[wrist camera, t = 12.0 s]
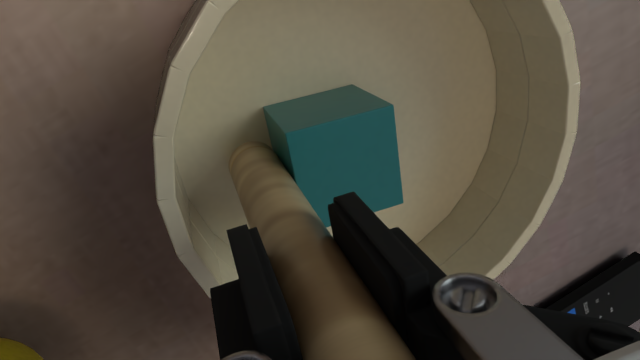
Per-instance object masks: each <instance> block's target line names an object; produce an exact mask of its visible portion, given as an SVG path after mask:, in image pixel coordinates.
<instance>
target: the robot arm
mask: <svg viewBox="0 0 640 360" xmlns="http://www.w3.org/2000/svg"><path fill="white" fill-rule="evenodd" d="M328 212H329V218H330V223H331V228H332V234H333V238H334V240H335V241H336V243H337V244H338V246H339V247H340V249H341V250H342V252H343V253H344V254H345V256H346V257H347V259H348V260H349V262H350V263H351V265H352V266H353V268H354V269H355V271H356V272H357V273H358V275H359V276H360V278H361V279H362V281H363V282H364V284H365V285H366V287H367V288H368V290H369V291H370V293H371V294H372V295H373V297H374V298H375V300H376V301H377V303H378V304H379V306H380V307H381V309H382V310H383V312H384V313H385V314H386V316H387V317H388V319H389V320H390V322H391V323H392V325H393V326H394V328H395V329H396V331H397V332H398V334H399V335H400V336H401V338H402V339H403V341H404V342H405V344H406V345H407V347H408V348H409V350H410V351H411V353H412V354H413V356H414V357H415V358H416V360H640V330H639V332H637V331H636V330H634V329H632V328H630V327H628V326H626V325H624V324H621V323H617V322H614V321H610V320H605V319H599V318H594V317H588V316H582V315H577V314H571V313H566V312H560V311H554V310H549V309H543V308H538V307H532V306H526V305H522V304H521V303H520V302H519V301H517V300H516V299H515V298H514V297H513V296H512V295H511V294H510V293H508V292H507V291H506V290H505V289H504V288H503V287H502V286H501V285H499V284H498V283H497V282H495V281H494V280H492V279H491V278H489V277H486V276H484V275H481V274H476V273H470V272H466V273H455V274H451V275H448V276H447V275H446V274H445V273H444V272H443V271H442V270H441V269H440V268H439V267H438V266H437V265H436V264H435V263H434V262H433V261H432V260H431V259H430V258H429V257H428V256H427V255H426V254H425V253H424V252H423V251H422V250H421V249H420V248H419V247H418V246H417V245H416V244H415V243H414V242H413V241H412V240H411V239H410V238H409V237H408V236H407V235H406V234H405V233H404V232H403V231H402V230H401V229H400V228H399V227H395V228H392V229H389V228H388V227H387V226H386V225H385V224H384V223H383V222H382V221H381V220H380V219H379V218H378V217H377V215H376V214H375V213H374V212H373V211H372V210H371V209H370V208H369V207H368V206H367V205H366V204H365V203H364V202H363V201H362V199H361V198H360V197H359V196H358V195H357V194H356V193H355V192H354V191H353V192H350V193H346V194H343V195H340V196H337V197H334V198H333V203H332V204H328ZM226 231H227V235H228V239H229V243H230V247H231V250H232V254H233V258H234V262H235V266H236V270H237V274H238V278H239V279H237V280H234V281H231V282H228V283H225V284H222V285H219V286H216V287H213V288H210V295H211V301H212V308H213V314H214V321H215V328H216V334H217V341H218V348H219V354H220V360H303V358H302V354H301V350H300V346H299V343H298V339H297V335H296V331H295V327H294V324H293V321H292V318H291V315H290V312H289V309H288V307H287V304H286V302H285V299H284V296H283V294H282V291H281V289H280V286H279V283H278V281H277V278H276V276H275V273H274V271H273V268H272V265H271V263H270V260H269V258H268V255H267V253H266V250H265V247H264V245H263V242H262V240H261V237H260V235H259V232H258V229H257V227H254V228H251V229H248V226H247V224H245V225H242V226H238V227H235V228H232V229H228V230H226Z"/></svg>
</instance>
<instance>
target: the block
mask: <svg viewBox="0 0 640 360" xmlns="http://www.w3.org/2000/svg"><path fill="white" fill-rule="evenodd" d="M263 111H264V115H265V119H266V124H267V128H268V132H269V137H270V141H271V145H272V149H273V150H274V152H275V153H276V155H277V156H278V158H279V159H280V161H281V162H282V164H283V165H284V167H285V168H286V169H287V171H288V172H289V174H290V175H291V177H292V178H293V180H294V181H295V183H296V184H297V186H298V187H299V189H300V190H301V191H302V193H303V194H304V196H305V197H306V199H307V200H308V202H309V203H310V205H311V206H312V208H313V209H314V211H315V212H316V213H317V215H318V216H319V218H320V219H321V221H322V222H323V224H324V225H325V227H326V228H327V227H330V226H331V223H330V218H329V212H328V204H332V203H333V198H334V197H337V196H340V195H343V194H346V193H350V192H353V191H354V192H355V193H356V194H357V195H358V196H359V197H360V198H361V199H362V201H363V202H364V203H365V204H366V205H367V206H368V207H369V208H370V209H371V210H372V211H373V212H377V211H380V210H384V209H387V208H390V207H393V206H396V205H399V204H402V203H404V201H403V191H402V182H401V172H400V162H399V153H398V143H397V133H396V124H395V114H394V105H393V104H391V103H389V102H387V101H385V100H383V99H381V98H379V97H377V96H375V95H373V94H371V93H369V92H367V91H365V90H363V89H361V88H359V87H357V86H355V85H353V84H351V85H347V86H343V87H339V88H335V89H331V90H328V91H324V92H320V93H316V94H312V95H308V96H304V97H300V98H296V99H292V100H288V101H284V102H280V103H276V104H272V105H268V106H264V107H263Z"/></svg>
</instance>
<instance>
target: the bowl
mask: <svg viewBox="0 0 640 360" xmlns="http://www.w3.org/2000/svg"><path fill="white" fill-rule="evenodd" d="M351 84H353V85H355V86H357V87H359V88H361V89H363V90H365V91H367V92H369V93H371V94H373V95H375V96H377V97H379V98H381V99H383V100H385V101H387V102H389V103H391V104H393V105H394V114H395V124H396V133H397V143H398V153H399V162H400V172H401V182H402V191H403V201H404V203H402V204H399V205H396V206H393V207H390V208H387V209H384V210H380V211H377V212H374V213H375V214H376V215H377V217H378V218H379V219H380V220H381V221H382V222H383V223H384V224H385V225H386V226H387V227H388V228H389V229H392V228H395V227H399V228H400V229H401V230H402V231H403V232H404V233H405V234H406V235H407V236H408V237H409V238H410V239H411V240H412V241H413V242H414V243H415V244H416V245H417V246H418V247H419V248H420V249H421V250H422V251H423V252H424V253H425V254H426V255H427V256H428V257H429V258H430V259H431V260H432V261H433V262H434V263H435V264H436V265H437V266H438V267H439V268H440V269H441V270H442V271H443V272H444V273H445V274H446V275H447V276H448V275H451V274H455V273H466V272H470V273H476V274H481V275H484V276H486V277H489V278H491V279H492V280H494V279H495V278H496V277H497V276H498V275H499V274H500V273H501V272H503V271H504V270H505V269H506V268H507V267H508V266H509V264H511V263H512V261H513V260H514V259H515V258H516V256H517V255H518V254H519V252H520V251H521V250H522V248H523V247H524V246H525V245H526V243H527V242H528V241H529V239H530V238H531V237H532V235H533V234H534V233H535V231H536V230H537V229H538V228H539V226H540V225H541V223H542V221H543V219H544V217H545V215H546V213H547V211H548V209H549V207H550V206H551V204H552V202H553V200H554V198H555V196H556V194H557V192H558V190H559V188H560V186H561V184H562V181H563V179H564V176H565V172H566V169H567V166H568V162H569V159H570V155H571V152H572V149H573V145H574V142H575V138H576V135H577V133H576V132H577V124H578V111H579V98H580V85H581V83H580V73H579V67H578V61H577V54H576V48H575V42H574V35H573V31H572V27H571V25H570V23H569V20H568V18H567V16H566V14H565V12H564V9H563V7H562V5H561V3H560V1H559V0H196V1H195V3H194V5H193V6H192V8H191V10H190V11H189V13H188V14H187V16H186V17H185V19H184V20H183V22H182V24H181V26H180V28H179V30H178V32H177V34H176V36H175V38H174V40H173V42H172V43H171V45H170V47H169V50H168V53H167V57H166V61H165V66H164V69H163V72H162V77H161V82H160V87H159V91H158V95H157V99H156V106H155V117H154V129H153V152H154V170H155V189H156V199H157V204H158V207H159V210H160V212H161V215H162V218H163V220H164V223H165V226H166V229H167V231H168V234H169V237H170V239H171V242H172V245H173V247H174V250H175V253H176V255H177V256H178V258H179V260H180V261H181V262H182V264H183V265H184V266H185V267H186V269H187V270H188V271H189V272H190V274H191V275H192V276H193V278H194V279H195V280H196V281H197V283H198V284H199V285H200V287H201V288H202V289H203V290H204V292H205V293H206V294H207V296H208V297H209V298H211V295H210V288H213V287H216V286H219V285H222V284H225V283H228V282H231V281H234V280H237V279H239V278H238V274H237V270H236V266H235V262H234V258H233V254H232V250H231V247H230V243H229V239H228V235H227V231H226V230H228V229H232V228H235V227H238V226H242V225H245V224H247V226H248V229H250V227H249V225H248V222H247V219H246V216H245V214H244V211H243V208H242V205H241V202H240V200H239V197H238V194H237V191H236V189H235V186H234V183H233V180H232V177H231V175H230V172H229V159H230V157H231V155H232V153H233V152H234V150H235V149H236V148H237V147H239V146H240V145H242V144H244V143H246V142H250V141H259V142H263V143H265V144H267V145H268V146H270V147H271V148H272V145H271V141H270V137H269V132H268V128H267V124H266V119H265V115H264V111H263V107H264V106H268V105H272V104H276V103H280V102H284V101H288V100H292V99H296V98H300V97H304V96H308V95H312V94H316V93H320V92H324V91H328V90H331V89H335V88H339V87H343V86H347V85H351ZM327 230H328V231H329V232H330V234H331V235H332V237H333V234H332V228H331V226H330V227H327Z"/></svg>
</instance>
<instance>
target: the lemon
mask: <svg viewBox="0 0 640 360" xmlns="http://www.w3.org/2000/svg"><path fill="white" fill-rule="evenodd" d="M0 360H44V359H43V358H42V357H41V356H40V355H39V354H37V353H36V352H35V351H34V350H33V349H31V348H30V347H28V346H26V345H24V344H22V343H20V342H17V341H14V340H10V339H6V338H0Z"/></svg>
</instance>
